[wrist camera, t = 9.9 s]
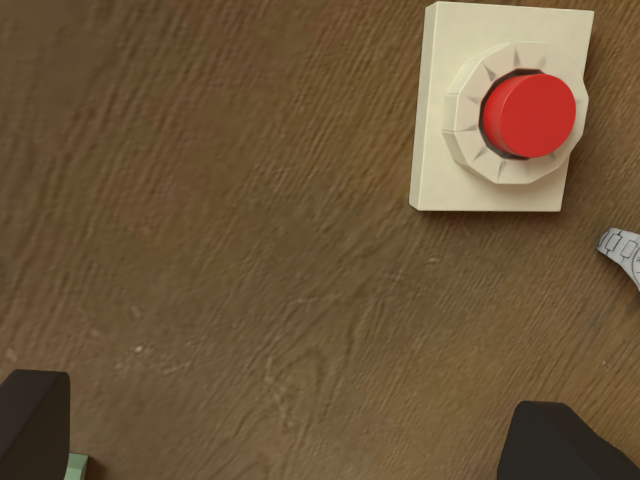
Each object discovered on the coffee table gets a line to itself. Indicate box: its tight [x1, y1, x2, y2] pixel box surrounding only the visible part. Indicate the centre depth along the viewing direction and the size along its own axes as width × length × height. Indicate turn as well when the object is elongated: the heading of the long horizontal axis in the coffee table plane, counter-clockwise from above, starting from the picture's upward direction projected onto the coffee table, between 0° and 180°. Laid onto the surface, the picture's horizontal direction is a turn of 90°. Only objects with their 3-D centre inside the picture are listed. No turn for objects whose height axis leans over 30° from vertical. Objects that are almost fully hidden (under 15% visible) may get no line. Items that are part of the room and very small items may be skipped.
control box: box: [409, 1, 594, 212], centre depth 25 cm, size 10×8×4 cm
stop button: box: [483, 74, 576, 158], centre depth 23 cm, size 4×4×2 cm
